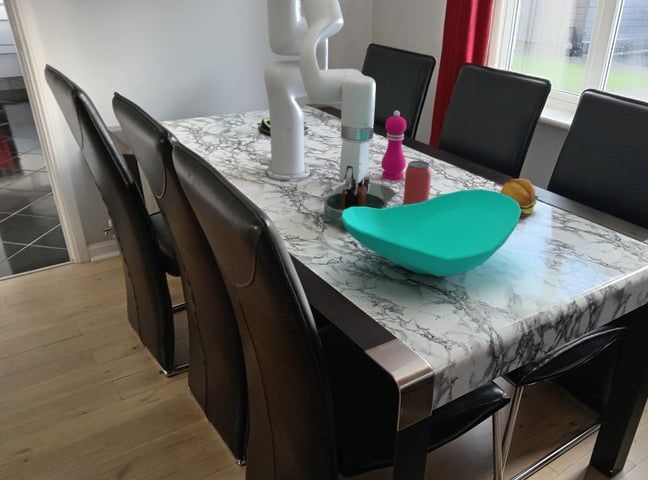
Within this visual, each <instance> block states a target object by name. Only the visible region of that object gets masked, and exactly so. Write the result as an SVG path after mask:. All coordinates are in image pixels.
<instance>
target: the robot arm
mask: <svg viewBox="0 0 648 480" xmlns="http://www.w3.org/2000/svg"><path fill="white" fill-rule="evenodd" d="M266 7H267V9H266V11H267V33H268V44H269V48H270V51H271V52H272V53H273V54H275V55H277V56H282V57H283V56H285V57H287V56H289V57H290V56H291V57H293V56H298V57H299V58H298V59H297V60H296V59H295V60H291V59H290V60H276V61H274V62H271V63H270V64H268V65H267V66H266V68H265V70H264V75H263V76H264V77H263V78H264V79H263V80H264V85H265V88H266V95H267V101H268V109H269V110H268V111H269V113H268V114H269V120H270V133H271V137H270V154H271V156H270V157H267V156H259V164H260V166H267V167H268V168H267V169H266V175H267V176H268V177H269V178H271V179H274V180H278V181H291V180H299V179H304V178H306V177H308V176H309V175H310V174H311V171H310V168H308V167H307V166H305V134H304V126H305V124H304V122H305V119H304V118H305V116H304V115H305V114H304V112H303V109H302V107H301V106H300V104H298V102H297V100H296V98H303V97H308V99H309V100H310V101H311V102H312V103H314V104H316V105H331V104H332V105H333V104H341V108H340V109H341V110H340V111H341V113H340V114H341V115H340V117H341V118H340V139H341V140H342V143H341V149H340V158H339V159H340V160H339V173H338V180H339V182H340V183H342V182H344V181H345V182H344V184H345V186H344V188H345V209H347V208H350V207H358V196H359V195H358V194H357V191H358V186H362V187H364V177H366V176H367V174H368V171H369V167H370V166H369V165H370V142H372V141H373V140H374V124H375V123H374V122H375V108H376V91H377V89H376V87H377V85H376V80H375V79H374V78H373V77H371V76H368V75H364V74H363V73H362V72H361V71H360V70H359V69H355V68H328V66H329V38H330V37H333V36H334V35H336V34H337V33H338V32H340V31H341V30H342V28H343V27H344V22H345V21H344V17H343V13H342V9H341V6H340V2H339V0H266ZM301 7H302V11H303V15H304V16H302V15H301V13H302V11H301ZM351 184H352V185H355V187H353V186H352V185H351ZM345 209H344V210H345Z"/></svg>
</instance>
